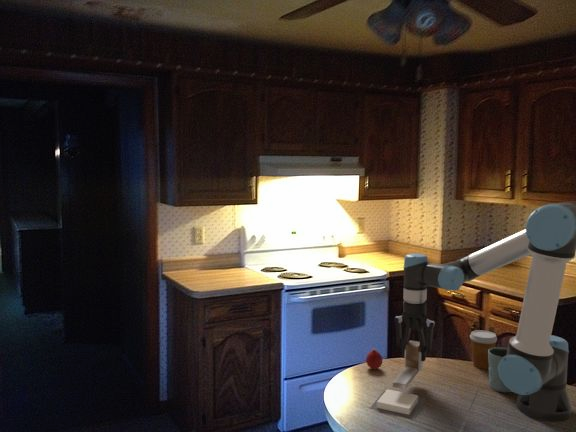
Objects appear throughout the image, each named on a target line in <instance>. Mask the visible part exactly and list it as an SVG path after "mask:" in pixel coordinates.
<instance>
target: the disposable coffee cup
mask: <svg viewBox="0 0 576 432" xmlns="http://www.w3.org/2000/svg"><path fill="white" fill-rule="evenodd" d="M469 338H470V342H471V343H470V344H471V353H472V364H473V366H474V367H475V368H478V369H483V370H484V369H485V370H489V362H488V361H489V360H488V359H489V358H488V350H489V349H490V348H494V347H496V344H497V341H498V337H497V335H496V333H495V332H492V331H489V330H480V329H475V330H473V331H471V332H470V334H469Z"/></svg>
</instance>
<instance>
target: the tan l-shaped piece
mask: <svg viewBox="0 0 576 432" xmlns="http://www.w3.org/2000/svg"><path fill="white" fill-rule="evenodd" d="M420 350H421V348H420V342H419V340H418V341H417V340H408V343H407V344H406V367H405V368H403V369H402V370H401V371H400V372H399V374H398V375H397V377H396V378H395V379H394V380H393V381H392V387H393V388H397V389H404V390H406V389H407V388H408V386H409V385H410V383H411V382H412V381H413V380H414V379H415V377H416V375H417V374H419V372H420V371H418V364H419V351H420Z"/></svg>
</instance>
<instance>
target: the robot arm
mask: <svg viewBox="0 0 576 432" xmlns="http://www.w3.org/2000/svg"><path fill="white" fill-rule="evenodd" d="M525 223H526V224H525V228H524V229H522V230H521V231H518V232H516V233H514V234H511V235H509V236H507V237H505V238H503V239H500V240H499V241H496V242H494V243H492V244H490V245H488V246H486V247H484V248H482V249H480V250H477V251H475V252H473V253H470V254H468V255H467V256H464V257H462V258H459V259H456V260H454V261H449V262H446V263H443V264H442V263H441V264H440V263H433V262H430V261H429V260H428V256H427V255H426V254H422V253H410V254H409V253H408V254H406V255H405V256H404V262H403V295H402V296H403V298H402V299H403V301H402V306H403V307H402V314H401V315H396V316H395V317H394V319H393V320H394V324H395V343H396V344H395V345H396V347H397V348H398V347H399V348H401V358H402V359H404V364H403V367H404V368H405V367H406V344H407V343H408V342H409V341H410V340H409V338H410V334H411V330H412V329H415V330H416V332H417V337H418V342H420V348H421V350H420V351H419V364H418V371H419V372H422V370H423V369H424V368H423V367H424V364H423V363H424V362H425V361H426V360H427V359H426V358H427V352H430V351H431V350H432V348H433V335H434V332H433V331H434V327H435V325H436V321H435V320H430V319H429V318H428V316H427V305H428V304H427V302H426V301H427V295H428V293H427V292H428V287H431V288H432V287H433V288H437V289H441V290H445V291H454V292H457V291H458V290H460V289H461V287H462V286H463V284H464V283H466V282H467V283H468V282H471V281H474V280H475V279H477V278H478V277H480V276H483V275H485V274H488V273H490V272H493V271H495V270H498V269H500V268H502V267H504V266H507V265H510V264H511V263H513V262H516V261H519V260H521V259H523V258H526V257H528V256H531V261H530V266H529V271H528V277H527V281H526V286H525V292H524V295H523V296H524V297H523V301H522V306H521V310H520V311H521V312H520V316H519V320H518V327H517V331H516V334H515V336H512V337H510V338H509V343H508V345H507V348H508V350H507V355H506V356H504V357H503V358H502V359H501V361H500V362H499V365H498V373H499V377H500V379H501V380H502V381H503V383H504V385H505V386H506V387H507V388H508V389H510V390H511V391H513V393H514V394H517V397H516V407H517V409H518V410H519V411H520V412H522V413H523V414H524V415H527V416H529V417H532V418H534V419H538V420H542V421H550V422H562V421H565V420H567V419H570V418H571V416H572V404H571V401H570V397H569V394H568V393H569V392H568V391H567V379H568V378H567V377H568V363H569V362H568V361H569V353H570V351H569V342H568V341H567V340H566V339H564V338H562V337H559V336H557V335H552V332H553V327H554V323H555V319H556V318H555V317H556V314H557V308H558V305H559V300H560V296H561V292H562V291H561V290H562V286H563V281H564V277H565V272H566V268H567V263H569V262H570V261H572V260H573V259H575V258H576V201H562V202H557V203H553V202H552V203H547V204H544V205H542V206H540V207H538V208H536V209H535V210H534V211H532V212H531V214H530V215H528V218H527V220H526V222H525ZM402 322H404V324H405V325H406V326H405V332H404V334H403V332H402V331H403V330H402V326H403V325H402ZM425 324H426V326H427V327H428V328H427V333H426V334H427V336H426V339H425V334H424V325H425ZM402 335H404V336H403V337H402ZM404 368H403V369H404Z"/></svg>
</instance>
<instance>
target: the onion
mask: <svg viewBox="0 0 576 432" xmlns="http://www.w3.org/2000/svg"><path fill="white" fill-rule="evenodd" d="M365 362H366V364H367V366H368V367H369V368H370V369H371V370H373V371H375V370H378V369H379V368H380V367H381V366H382V365H383V356H382V355H381V353H380V352H378V351H377V350H376V349H375V348H372V349H371V351H370V352H368V354H367V355H366V357H365Z"/></svg>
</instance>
